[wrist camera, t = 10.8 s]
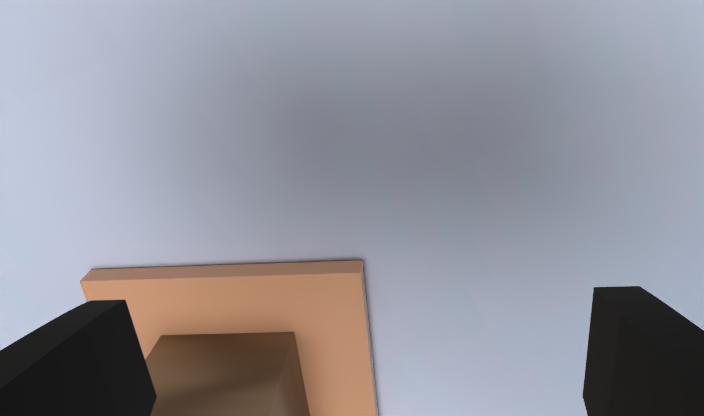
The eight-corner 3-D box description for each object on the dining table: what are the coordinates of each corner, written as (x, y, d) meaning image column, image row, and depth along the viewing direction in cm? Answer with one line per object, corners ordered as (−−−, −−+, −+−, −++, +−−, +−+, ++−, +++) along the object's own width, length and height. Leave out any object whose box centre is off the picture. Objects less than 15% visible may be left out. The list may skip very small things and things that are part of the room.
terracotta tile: (362, 260, 19) (360, 272, 18) (383, 465, 23) (383, 482, 22) (91, 269, 20) (79, 281, 19) (158, 462, 24) (150, 478, 24)
